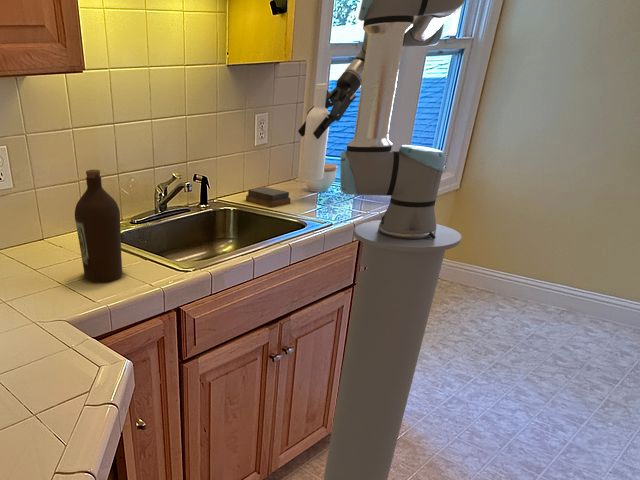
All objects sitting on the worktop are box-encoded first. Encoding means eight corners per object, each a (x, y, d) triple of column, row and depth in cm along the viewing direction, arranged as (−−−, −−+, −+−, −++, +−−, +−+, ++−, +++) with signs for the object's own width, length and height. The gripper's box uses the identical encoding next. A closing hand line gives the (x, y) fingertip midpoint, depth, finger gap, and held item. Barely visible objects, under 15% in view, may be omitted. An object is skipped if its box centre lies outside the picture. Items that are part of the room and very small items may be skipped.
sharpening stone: (290, 203, 182) (291, 192, 180) (271, 207, 178) (272, 195, 176) (263, 197, 193) (264, 186, 191) (245, 200, 189) (246, 189, 187)
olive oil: (120, 266, 130) (112, 165, 118) (128, 280, 122) (120, 172, 109) (80, 271, 128) (66, 169, 116) (85, 286, 119) (71, 176, 107)
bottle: (314, 175, 184) (325, 83, 169) (327, 179, 178) (339, 83, 163) (295, 177, 182) (304, 84, 167) (308, 181, 176) (318, 84, 161)
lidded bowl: (329, 185, 205) (332, 157, 200) (339, 192, 194) (343, 162, 189) (298, 187, 205) (301, 158, 200) (306, 193, 194) (309, 163, 189)
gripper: (379, 87, 162) (332, 145, 166) (337, 87, 179) (295, 139, 182) (369, 69, 158) (321, 129, 161) (327, 70, 175) (284, 125, 178)
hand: (307, 134), depth 172 cm, fingers closed on bottle, 8 cm apart
